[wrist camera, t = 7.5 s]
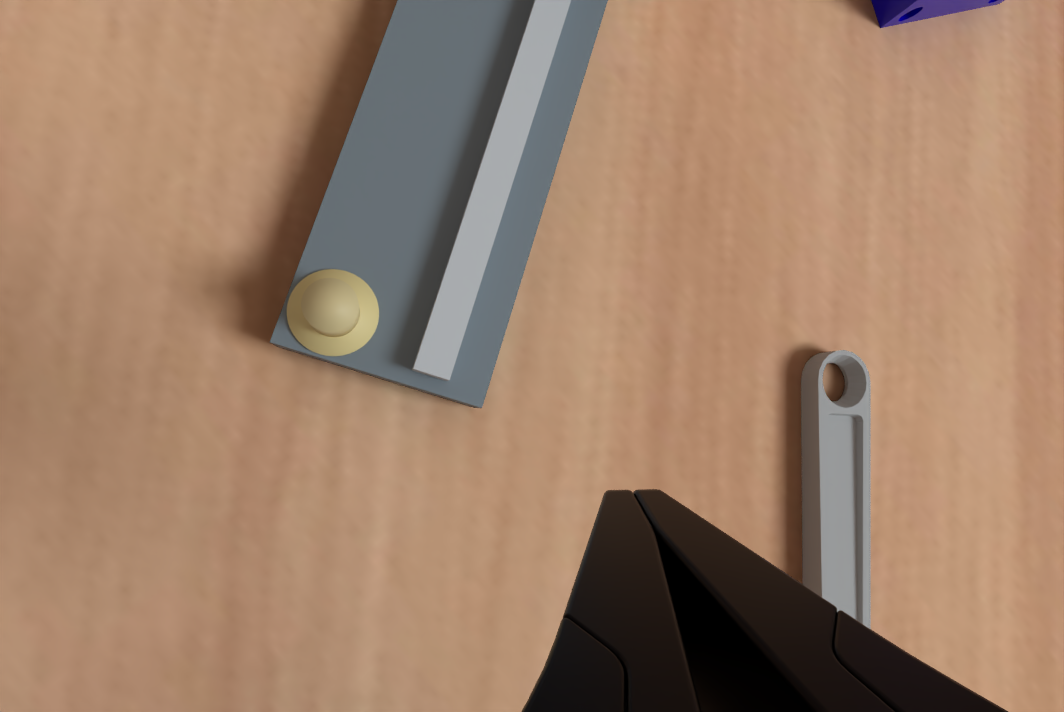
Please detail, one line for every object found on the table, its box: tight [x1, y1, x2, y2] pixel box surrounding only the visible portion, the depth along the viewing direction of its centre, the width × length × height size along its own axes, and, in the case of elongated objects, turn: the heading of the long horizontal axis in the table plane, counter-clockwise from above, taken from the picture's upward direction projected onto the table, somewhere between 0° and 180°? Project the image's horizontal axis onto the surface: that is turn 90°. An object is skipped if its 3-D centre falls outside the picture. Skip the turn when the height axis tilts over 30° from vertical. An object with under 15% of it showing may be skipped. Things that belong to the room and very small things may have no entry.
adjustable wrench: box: [801, 350, 870, 629], centre depth 24 cm, size 25×6×2 cm, turn 172°
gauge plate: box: [270, 0, 608, 408], centre depth 20 cm, size 20×7×3 cm, turn 163°
